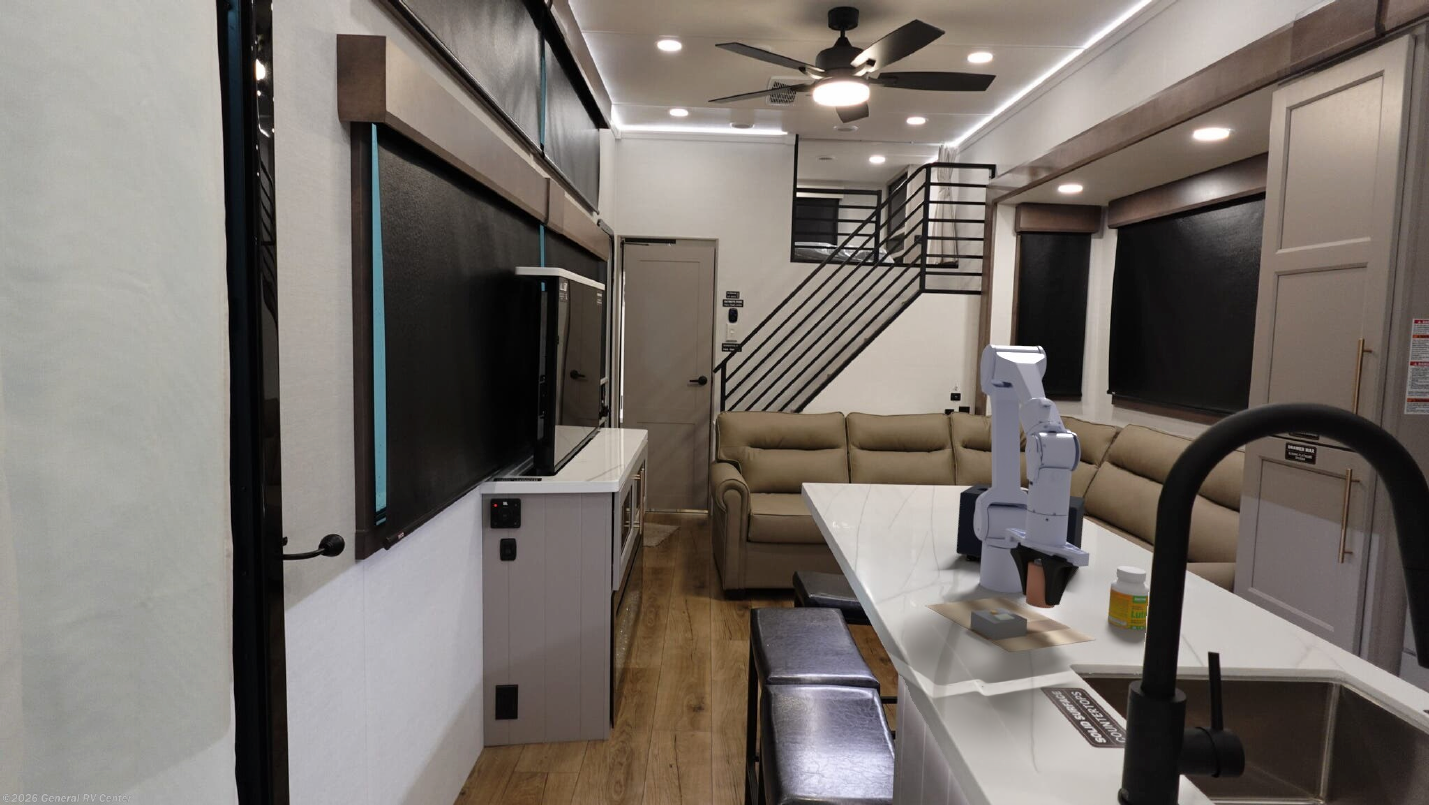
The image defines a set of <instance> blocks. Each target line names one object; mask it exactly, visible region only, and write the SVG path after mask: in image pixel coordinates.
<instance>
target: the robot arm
mask: <svg viewBox="0 0 1429 805" xmlns="http://www.w3.org/2000/svg"><path fill="white" fill-rule="evenodd" d="M1046 369H1047V355H1046V352H1045V350H1044V348H1043V347H1042V346H1040V345H1036V346H1026V345H1025V346H1022V345H998V344H997V345H996V344H991V343H989V344H987V345H986V346H985V348H984V349H983V350H982V354H981V359H980V386H981V392H982V393H984V394H985V395H987V396H989V399H990V400H989V401H990V410H991V412H990V413H991V417H990V419H991V486H992V487H991V488H990V489H988V490H987V491H985V492H984V493H982V494H981V495H980V496H979V497H978V498H977V500H976V507H975V513H974V531H975V535H976V536H977V537H978V539H979V540H982V555H981V558H980V571H979V572H980V573H979V585H980V586H981V587H983V588H985V589H987V590H990V591H993V592H998V593H1008V594H1010V593H1011V594H1013V593H1015V594H1016V593H1020V592H1022V595H1024V596H1025V597H1026V591H1027V577H1028V563H1029V562H1032V561H1034V560H1035V559H1041V564H1042V567H1043V571H1044V576H1045V603H1046V605H1048V606H1054V607H1055V606H1059V605H1060V603H1061V601H1062V598H1063V595H1064V592H1065V590H1066V587H1067V586H1068V584H1069V582H1070V580H1071V578H1072V577H1073V576H1074V574H1075V572H1077V570H1078V569H1079V568H1081V567H1089V564H1090V563H1089V561H1090V552H1088V551H1084V550H1083V549H1082V548H1081V549H1079V548H1077V547H1075V546H1073V545H1071V544H1070V543H1068V542H1066V537H1067V525H1068V512H1069V499H1070V496H1071V484H1072V475H1073V474H1072V472H1075V471H1076V470H1077V469H1078V467H1079V465H1080V460H1081V454H1082V453H1081V444H1080V440H1079V437H1078V435H1077V434H1076V433H1075V432H1072V431H1071V429H1067V428H1066V427H1065V425H1064V421H1062V417H1061V415H1060V412H1059V410H1058V408H1057V405H1056V403H1055V402H1054V401H1052V400H1051V399H1049V398H1046V394H1045V390H1044V386H1043V382H1042V380H1043V377H1044V375H1045V373H1046ZM1020 404H1021V406H1020ZM1020 423H1021V425H1020ZM1020 426H1022V429H1023V432H1024V436H1025V439H1026V443H1025V448H1024V450H1025V451H1024V456H1025V457H1024V458H1025V463H1026V473H1025V475H1026V479H1027V480H1028V482H1029V483H1028V490H1029V491H1028V494H1026V493H1025V492H1024V491H1023V490H1024V489H1022V488H1021V433H1020V432H1021V430H1020V429H1021V428H1020ZM990 504H1007V505H1016V506H1019V507H1005V506H989V505H990ZM1046 554H1048V555H1051V556H1052V558H1047V559H1044V557H1045V555H1046Z"/></svg>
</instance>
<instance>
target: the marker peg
mask: <svg viewBox="0 0 1429 805" xmlns="http://www.w3.org/2000/svg"><path fill="white" fill-rule="evenodd" d="M1025 603H1026V604H1027V605H1029V606H1031V607H1035V608H1039V609H1053V608H1055V605H1054V606H1048V605H1046V603H1045V576H1044V571H1043V567H1042V564H1041V559H1035V560H1034V561H1032V562H1029V563H1028V577H1027V591H1026V596H1025Z"/></svg>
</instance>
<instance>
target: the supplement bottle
mask: <svg viewBox="0 0 1429 805" xmlns="http://www.w3.org/2000/svg"><path fill="white" fill-rule="evenodd" d="M1116 578H1117V579H1114V580H1112V582H1111V584H1110V590H1109V602H1108V604H1109V606H1108V612H1107V613H1108V615H1107V621H1108V622H1109V623H1111V624H1113V625H1115V626H1117V627H1121V628H1124V629H1125V628H1126V629H1131V630H1144V629H1146V628H1147V627H1146V616H1147V606H1148V592H1149V589H1150V587H1149V586H1148V585H1147V584H1145V582H1146V581H1147V580H1146V578H1147V571H1145V570H1144V569H1142V568H1139V567H1136V566H1129V565H1127V566H1126V565H1119V566H1117V569H1116Z"/></svg>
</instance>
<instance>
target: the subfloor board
mask: <svg viewBox="0 0 1429 805" xmlns="http://www.w3.org/2000/svg"><path fill="white" fill-rule="evenodd" d="M925 607H927V608H929V609H930V610H933V611H934V612H936V613H938V614H939V615H941V616H943V617H945V618H946V619H949V620H951V621H953V622H954V623H956V624H958V625H959V626H961V627H963V628H966V629H967V630H968V631H971V632H972V633H974V634H976V635H977V636H979V637H982V638H984V639H985V640H987V641H989V642H991V643H993V644H994V645H997V646H998V647H1000V648H1002V649H1003V650H1005V651H1007V652H1009V653H1014V652H1022V651H1028V650H1035V649H1042V648H1048V647H1049V648H1050V647H1058V646H1063V645H1064V646H1065V645H1071V644H1077V643H1082V642H1083V643H1084V642H1085V643H1086V642H1091V641H1097V639H1095V638H1093V637H1092V636H1089V635H1087V634H1086V633H1082V632H1080V631H1078V630H1076V629H1074V628H1072V627H1070V626H1067V625H1065V624H1063V623H1061V622H1059V621H1056V620H1054V619H1052V618H1050V617H1048V616H1046V615H1043V614H1041V613H1039V612H1037V611H1035V610H1033V609H1031V608H1028V607H1025V606H1024V605H1022V604H1019V603H1017V602H1016V601H1013V600H1011V599H1009V598H1006V597H1004V596H1001V597H1000V596H999V597H992V598H991V597H990V598H982V599H981V598H980V599H971V600H964V601H963V600H961V601H954V602H946V603H937V604H935V603H934V604H928V605H927V604H926V605H925ZM997 608H1004V609H1007V610H1009V611H1011V612H1013V613H1015V614H1017V615H1019V616H1021V617H1023V618H1025V619H1027V631H1026V636H1022V637H1015V638H1007V639H1000V640H992V639H990V638H989V637H987V636H985V635H983V634H981V633H979V632H977V631H976V630H974V629H972V628H970V624H971V611H980V610H988V609H997Z"/></svg>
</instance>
